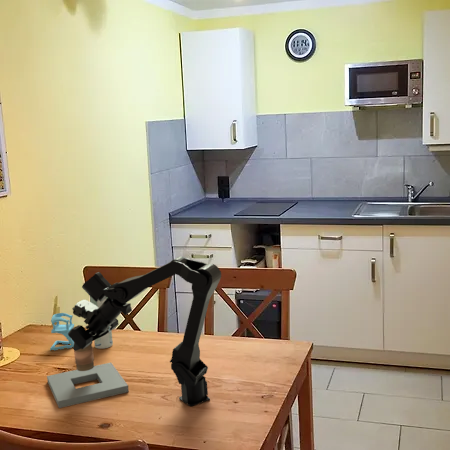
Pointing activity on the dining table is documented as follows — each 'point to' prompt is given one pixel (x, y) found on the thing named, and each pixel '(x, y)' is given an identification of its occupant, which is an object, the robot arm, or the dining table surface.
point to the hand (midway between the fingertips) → (79, 346)
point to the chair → (62, 330)
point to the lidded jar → (84, 358)
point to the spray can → (106, 339)
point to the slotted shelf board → (70, 395)
